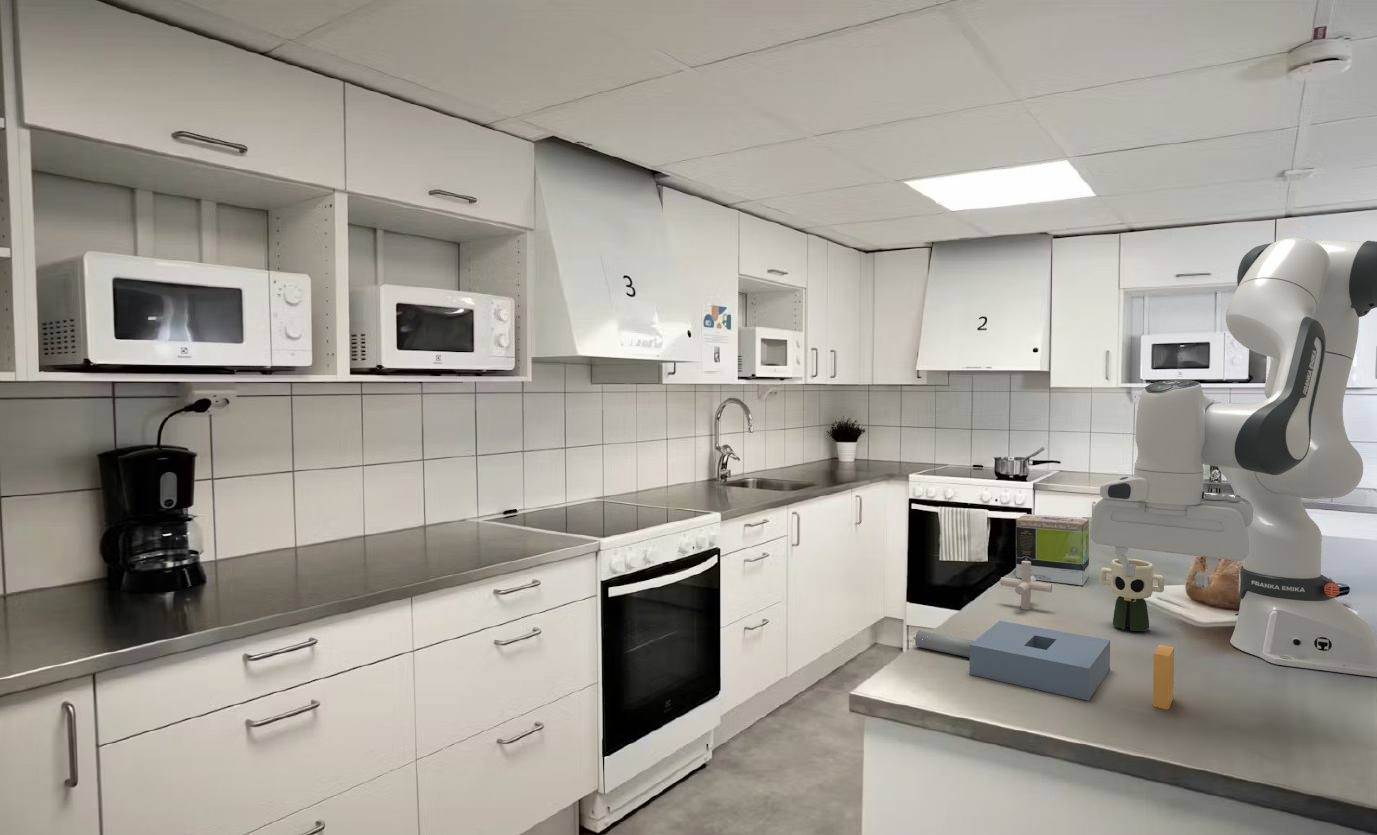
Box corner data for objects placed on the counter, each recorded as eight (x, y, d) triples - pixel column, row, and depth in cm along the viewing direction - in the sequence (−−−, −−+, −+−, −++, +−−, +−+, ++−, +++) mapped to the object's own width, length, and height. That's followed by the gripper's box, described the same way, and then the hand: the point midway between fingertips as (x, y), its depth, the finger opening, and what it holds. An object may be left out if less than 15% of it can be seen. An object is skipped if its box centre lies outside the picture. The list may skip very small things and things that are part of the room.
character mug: (1095, 627, 155) (1096, 562, 154) (1104, 619, 160) (1105, 555, 159) (1159, 639, 148) (1160, 570, 147) (1166, 629, 153) (1167, 563, 152)
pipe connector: (1045, 618, 161) (1045, 569, 160) (994, 610, 167) (994, 563, 166) (1056, 606, 169) (1057, 560, 168) (1007, 599, 175) (1008, 554, 174)
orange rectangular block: (1157, 695, 122) (1158, 644, 122) (1173, 698, 121) (1174, 647, 120) (1152, 706, 118) (1153, 653, 118) (1168, 709, 117) (1169, 656, 116)
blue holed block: (1109, 669, 133) (1110, 640, 132) (1088, 700, 120) (1089, 668, 120) (934, 635, 151) (934, 609, 151) (900, 659, 139) (900, 631, 138)
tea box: (1089, 577, 192) (1090, 517, 192) (1083, 587, 184) (1084, 524, 183) (1023, 569, 201) (1024, 512, 200) (1014, 578, 193) (1015, 518, 192)
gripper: (1254, 493, 114) (1251, 588, 114) (1097, 481, 126) (1095, 567, 127) (1252, 498, 109) (1248, 598, 109) (1088, 485, 121) (1086, 575, 122)
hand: (1164, 581), depth 118 cm, fingers open, 8 cm apart
